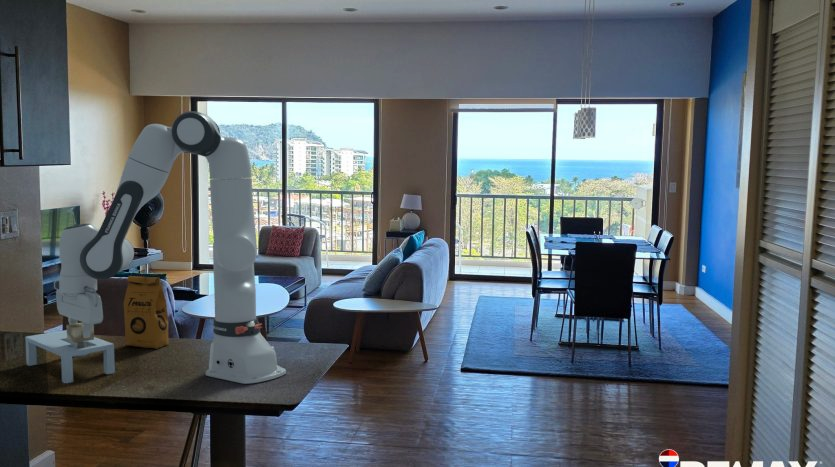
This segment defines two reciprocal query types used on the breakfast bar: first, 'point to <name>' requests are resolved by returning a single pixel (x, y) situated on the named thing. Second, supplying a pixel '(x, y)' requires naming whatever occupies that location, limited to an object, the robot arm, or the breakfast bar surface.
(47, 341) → the keyhole stand
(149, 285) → the coffee package
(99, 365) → the breakfast bar surface
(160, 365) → the breakfast bar surface
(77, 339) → the peg
